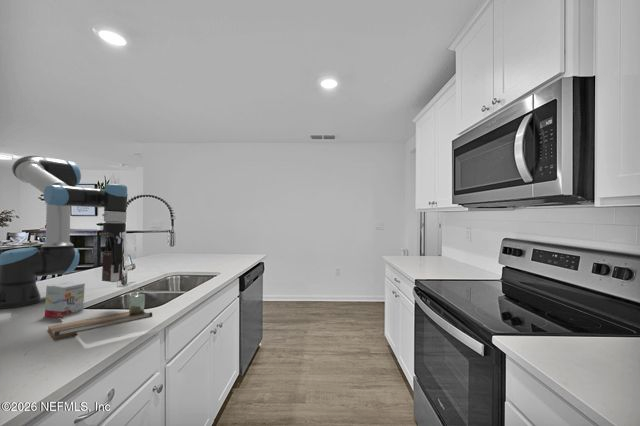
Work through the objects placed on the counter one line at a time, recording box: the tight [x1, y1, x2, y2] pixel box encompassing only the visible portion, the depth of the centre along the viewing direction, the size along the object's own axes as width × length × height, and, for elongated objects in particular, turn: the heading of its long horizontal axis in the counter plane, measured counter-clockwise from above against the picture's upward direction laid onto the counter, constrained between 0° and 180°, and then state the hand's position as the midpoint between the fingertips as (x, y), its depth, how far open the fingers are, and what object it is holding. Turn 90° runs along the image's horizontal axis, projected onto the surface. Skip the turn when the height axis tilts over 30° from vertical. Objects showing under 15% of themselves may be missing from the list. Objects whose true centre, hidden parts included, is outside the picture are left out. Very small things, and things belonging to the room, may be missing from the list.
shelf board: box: [47, 311, 153, 341], centre depth 108 cm, size 12×28×2 cm, turn 139°
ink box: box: [44, 281, 86, 319], centre depth 118 cm, size 9×9×12 cm
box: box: [101, 250, 124, 283], centre depth 123 cm, size 6×4×12 cm
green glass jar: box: [128, 293, 146, 316], centre depth 118 cm, size 5×5×7 cm
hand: (111, 279), depth 123 cm, fingers closed on box, 7 cm apart
